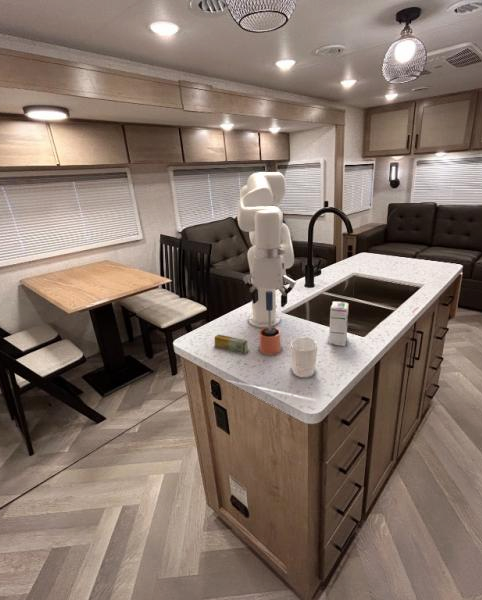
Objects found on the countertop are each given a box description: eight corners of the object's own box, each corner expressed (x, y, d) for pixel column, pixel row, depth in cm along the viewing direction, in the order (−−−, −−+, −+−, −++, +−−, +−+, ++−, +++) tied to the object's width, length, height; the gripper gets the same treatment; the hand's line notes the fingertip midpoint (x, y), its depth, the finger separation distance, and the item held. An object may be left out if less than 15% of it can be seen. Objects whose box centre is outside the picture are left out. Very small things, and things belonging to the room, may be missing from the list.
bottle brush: (267, 345, 113) (265, 289, 104) (277, 346, 112) (276, 290, 103) (263, 350, 110) (261, 293, 101) (273, 352, 108) (272, 294, 100)
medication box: (248, 351, 110) (248, 340, 109) (244, 354, 108) (244, 343, 107) (218, 343, 115) (218, 333, 113) (214, 346, 112) (213, 336, 111)
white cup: (314, 363, 103) (315, 336, 99) (318, 379, 95) (319, 350, 91) (289, 364, 102) (289, 337, 98) (291, 379, 95) (292, 351, 91)
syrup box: (345, 346, 112) (348, 308, 106) (328, 344, 114) (330, 307, 108) (346, 338, 117) (349, 302, 111) (330, 336, 119) (332, 300, 113)
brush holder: (264, 343, 115) (263, 325, 112) (283, 346, 113) (283, 328, 110) (256, 353, 109) (256, 335, 106) (276, 357, 106) (276, 338, 104)
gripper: (299, 251, 98) (298, 302, 104) (247, 247, 103) (249, 296, 110) (291, 257, 91) (291, 311, 98) (237, 253, 97) (240, 305, 103)
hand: (269, 303), depth 104 cm, fingers open, 9 cm apart
